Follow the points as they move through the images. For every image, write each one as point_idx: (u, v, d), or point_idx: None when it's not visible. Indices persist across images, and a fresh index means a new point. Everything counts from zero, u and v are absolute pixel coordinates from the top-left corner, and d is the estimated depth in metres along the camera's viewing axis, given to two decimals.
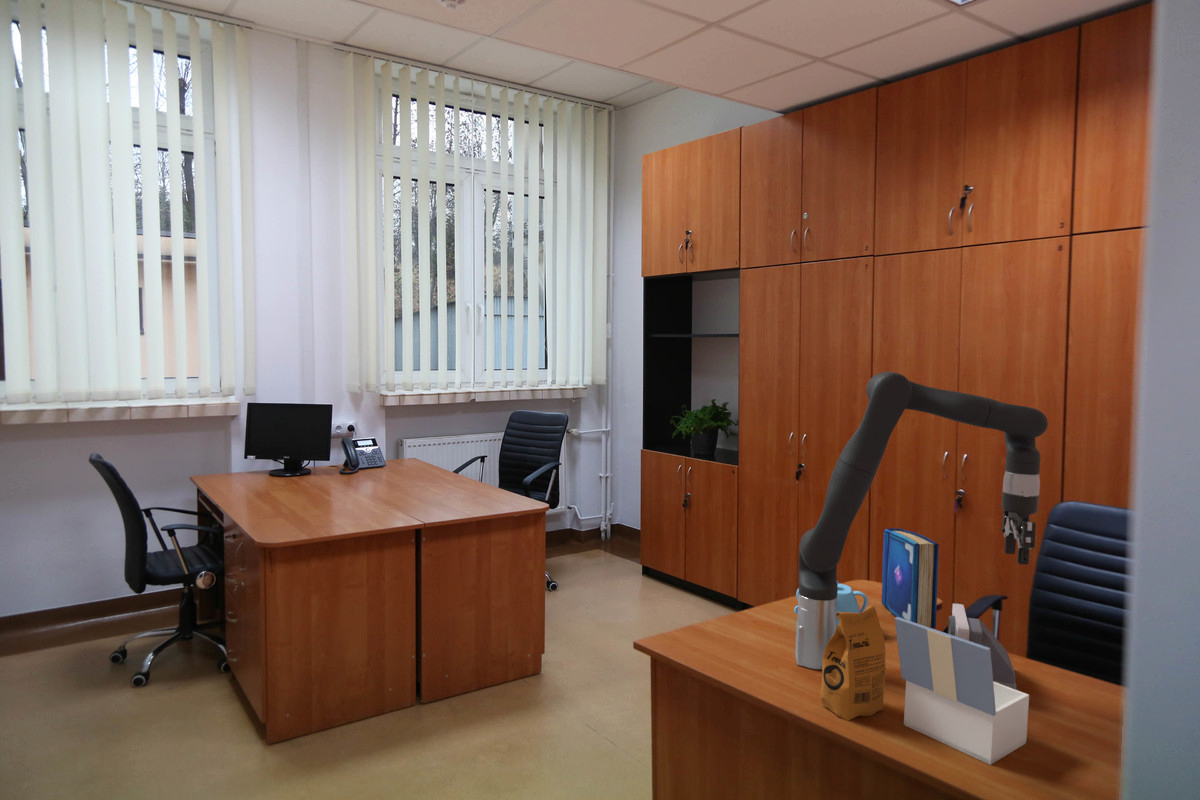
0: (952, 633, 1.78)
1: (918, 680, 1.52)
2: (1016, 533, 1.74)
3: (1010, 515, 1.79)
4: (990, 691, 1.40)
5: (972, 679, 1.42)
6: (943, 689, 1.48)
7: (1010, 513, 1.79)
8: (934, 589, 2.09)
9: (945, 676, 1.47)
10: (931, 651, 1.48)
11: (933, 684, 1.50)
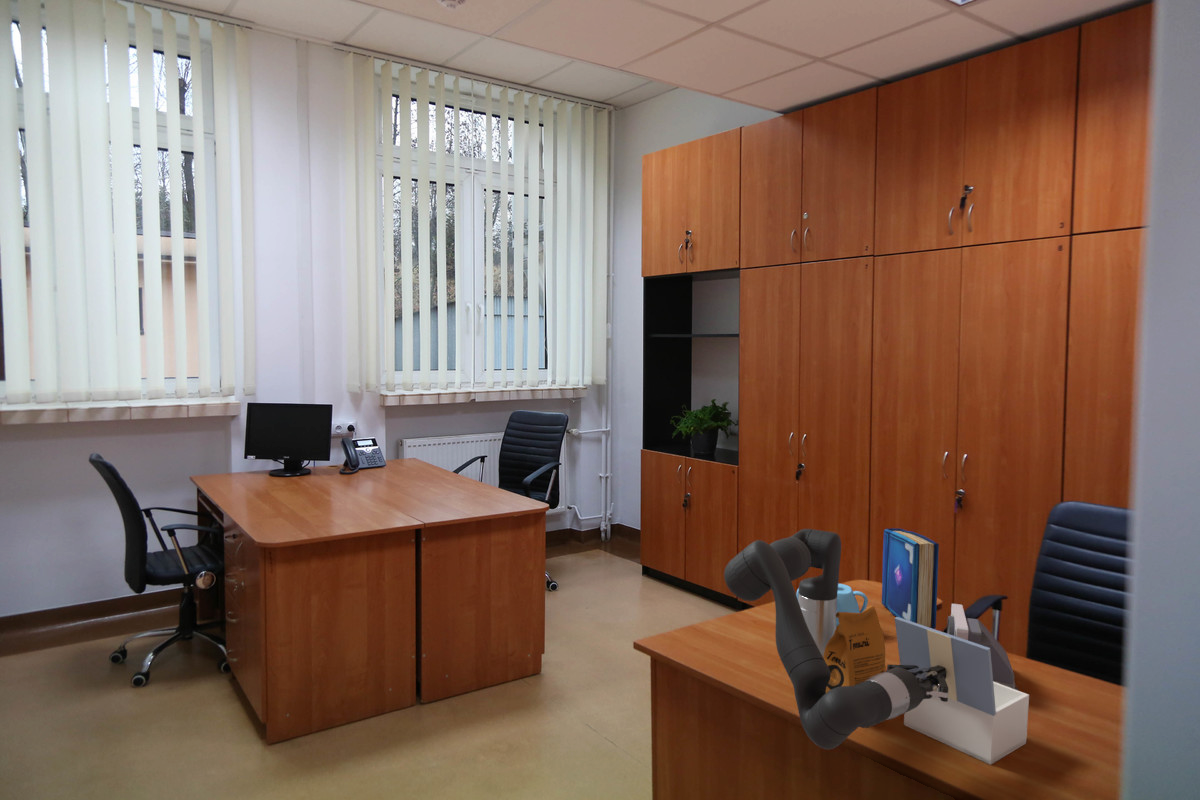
0: (951, 633, 1.78)
1: None
2: None
3: (921, 685, 1.38)
4: (990, 691, 1.40)
5: (972, 679, 1.42)
6: None
7: (922, 686, 1.38)
8: (934, 589, 2.09)
9: None
10: (931, 651, 1.48)
11: None
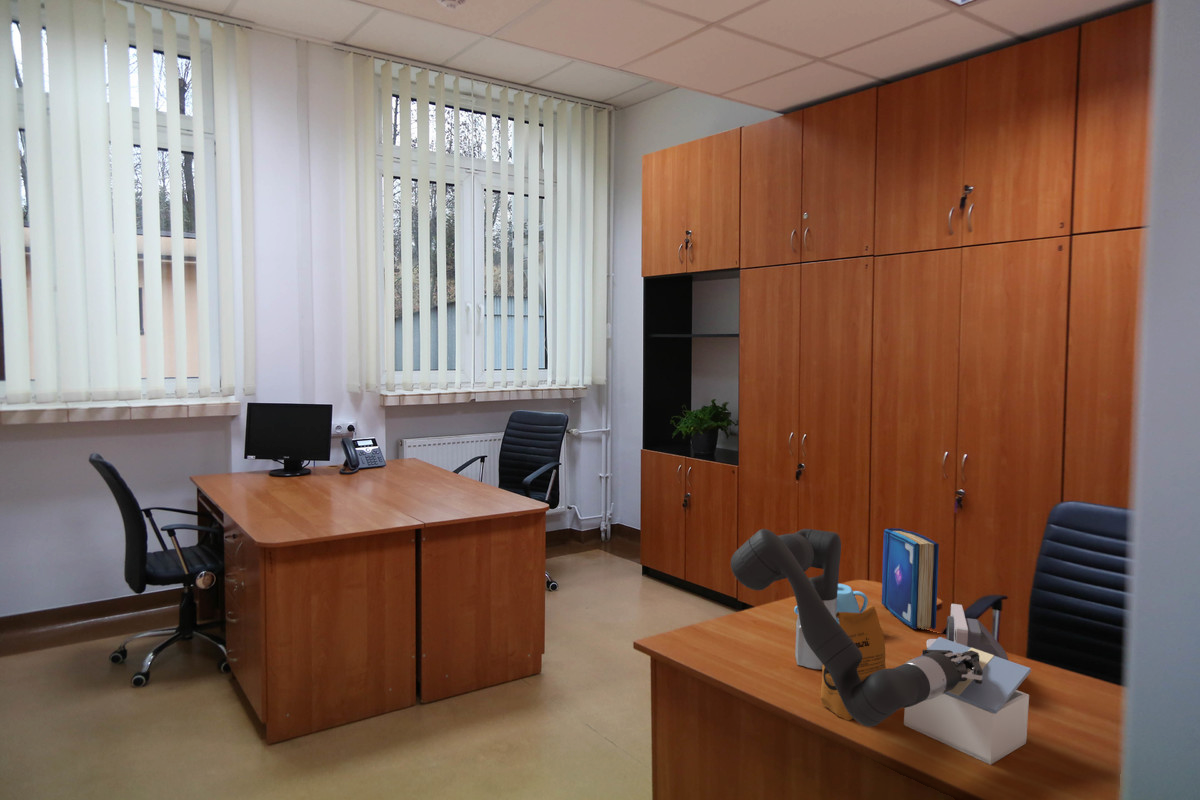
0: (951, 633, 1.78)
1: None
2: None
3: (956, 668, 1.45)
4: (1007, 693, 1.44)
5: (993, 684, 1.47)
6: None
7: (957, 669, 1.45)
8: (934, 589, 2.09)
9: None
10: None
11: None
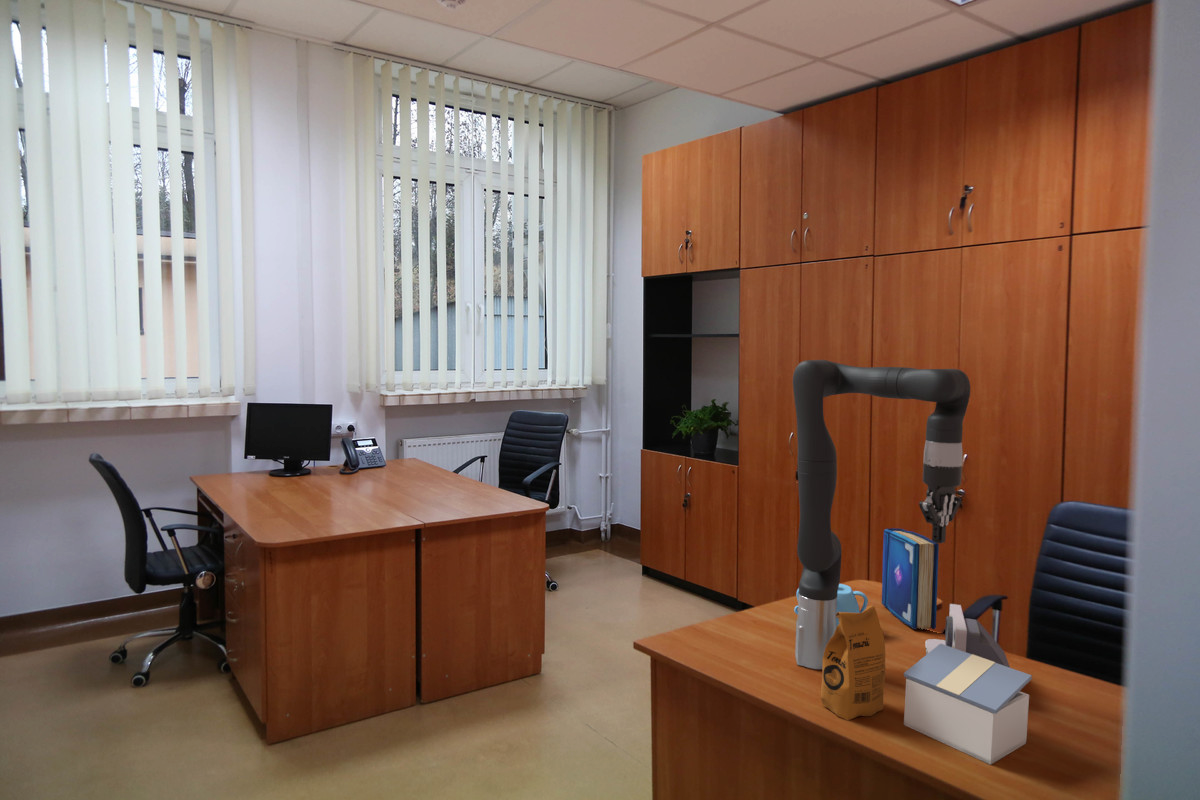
0: (949, 634, 1.77)
1: (924, 677, 1.54)
2: None
3: None
4: (1008, 696, 1.44)
5: (993, 687, 1.47)
6: (949, 686, 1.50)
7: None
8: (934, 589, 2.09)
9: (961, 680, 1.51)
10: (962, 665, 1.55)
11: (941, 681, 1.51)
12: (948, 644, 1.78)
